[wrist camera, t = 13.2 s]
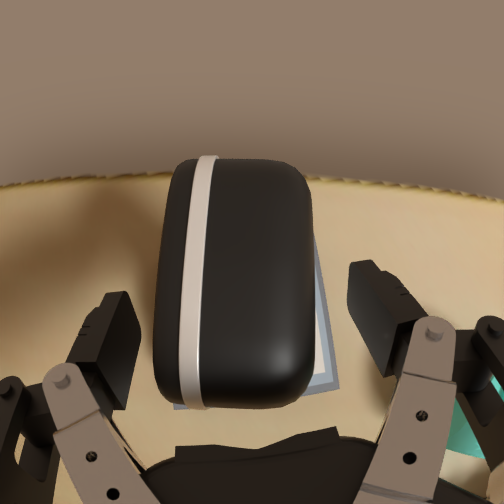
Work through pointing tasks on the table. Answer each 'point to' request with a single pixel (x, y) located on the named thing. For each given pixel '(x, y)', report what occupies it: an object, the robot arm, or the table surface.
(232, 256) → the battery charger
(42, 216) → the table surface
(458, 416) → the decorative dice
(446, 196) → the table surface
